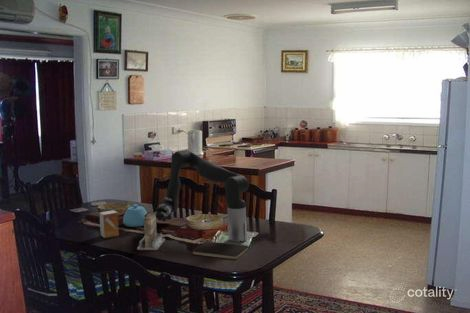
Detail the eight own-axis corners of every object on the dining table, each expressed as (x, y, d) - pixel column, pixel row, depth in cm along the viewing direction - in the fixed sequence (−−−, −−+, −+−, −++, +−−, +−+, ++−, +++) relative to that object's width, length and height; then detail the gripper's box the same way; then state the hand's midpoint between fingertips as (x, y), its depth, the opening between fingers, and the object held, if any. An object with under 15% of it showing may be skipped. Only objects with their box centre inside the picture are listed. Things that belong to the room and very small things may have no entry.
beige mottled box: (156, 239, 274) (155, 213, 272) (152, 245, 264) (150, 218, 262) (150, 239, 274) (148, 213, 272) (145, 245, 264) (143, 218, 262)
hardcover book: (236, 260, 244) (236, 255, 244) (192, 255, 253) (191, 250, 253) (249, 250, 259) (249, 245, 258) (206, 245, 268) (206, 240, 267)
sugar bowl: (154, 222, 311) (153, 203, 309) (137, 229, 298) (136, 209, 296) (135, 219, 319) (134, 200, 317) (117, 225, 306) (116, 206, 304)
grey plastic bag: (164, 240, 276) (164, 232, 276) (157, 250, 261) (156, 242, 260) (145, 239, 277) (145, 232, 277) (137, 249, 262) (136, 242, 261)
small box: (104, 238, 282) (103, 214, 280) (100, 235, 287) (99, 212, 285) (119, 235, 286) (117, 212, 284) (114, 233, 291) (113, 209, 289)
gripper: (149, 205, 294) (141, 213, 278) (175, 205, 292) (168, 213, 276) (150, 218, 295) (142, 226, 279) (175, 218, 293) (169, 227, 277)
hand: (155, 220), depth 278 cm, fingers open, 8 cm apart
